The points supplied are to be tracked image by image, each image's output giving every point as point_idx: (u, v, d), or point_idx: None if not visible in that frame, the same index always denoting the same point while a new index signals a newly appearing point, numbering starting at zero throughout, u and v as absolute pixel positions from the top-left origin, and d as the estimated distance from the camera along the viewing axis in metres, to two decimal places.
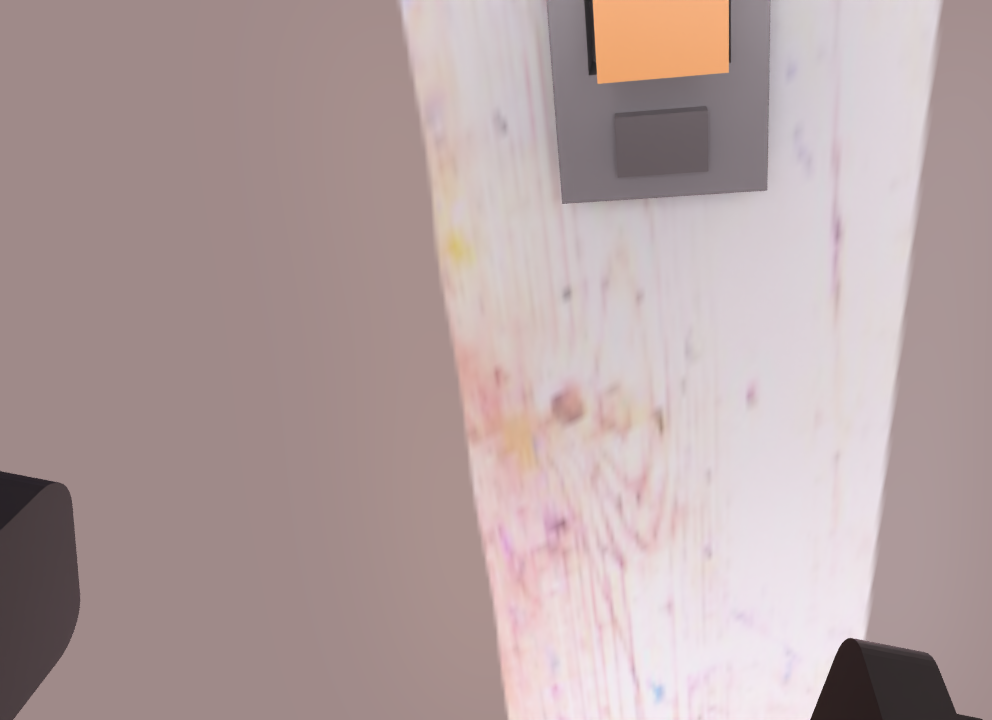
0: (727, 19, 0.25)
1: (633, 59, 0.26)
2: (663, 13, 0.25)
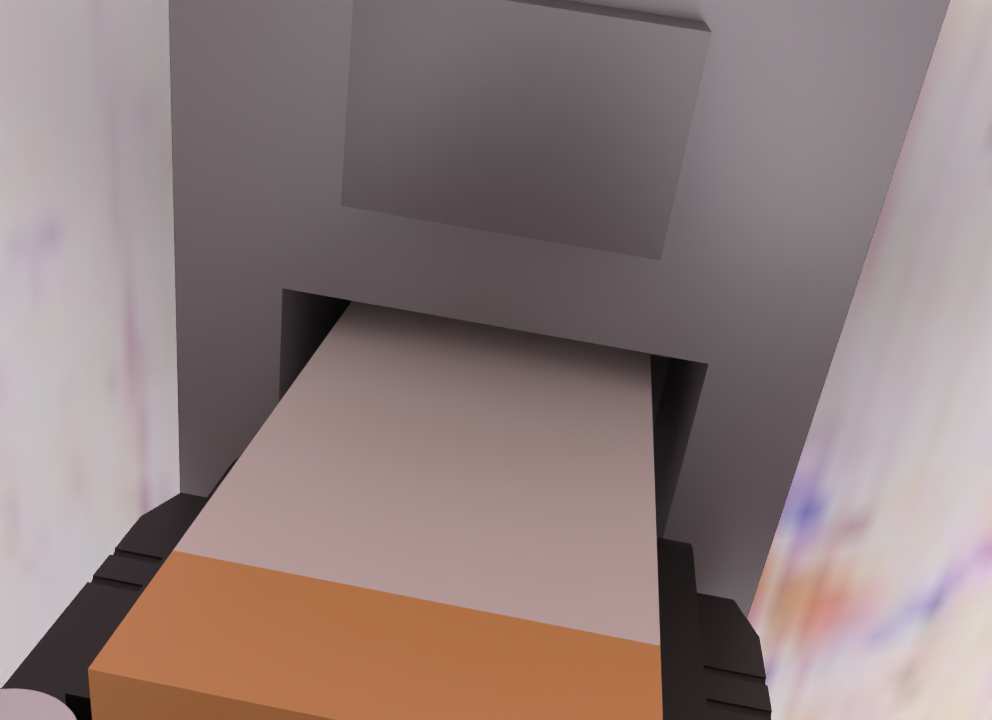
0: None
1: None
2: None
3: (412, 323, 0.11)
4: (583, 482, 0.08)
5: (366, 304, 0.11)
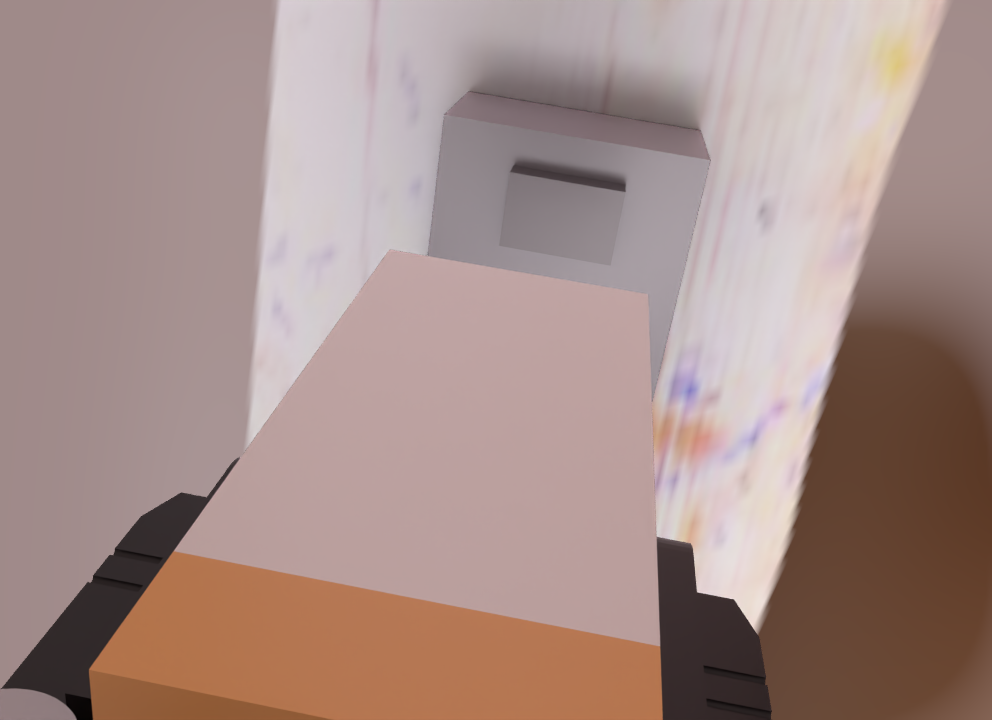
0: None
1: None
2: None
3: (411, 324, 0.11)
4: (583, 484, 0.08)
5: (366, 305, 0.11)
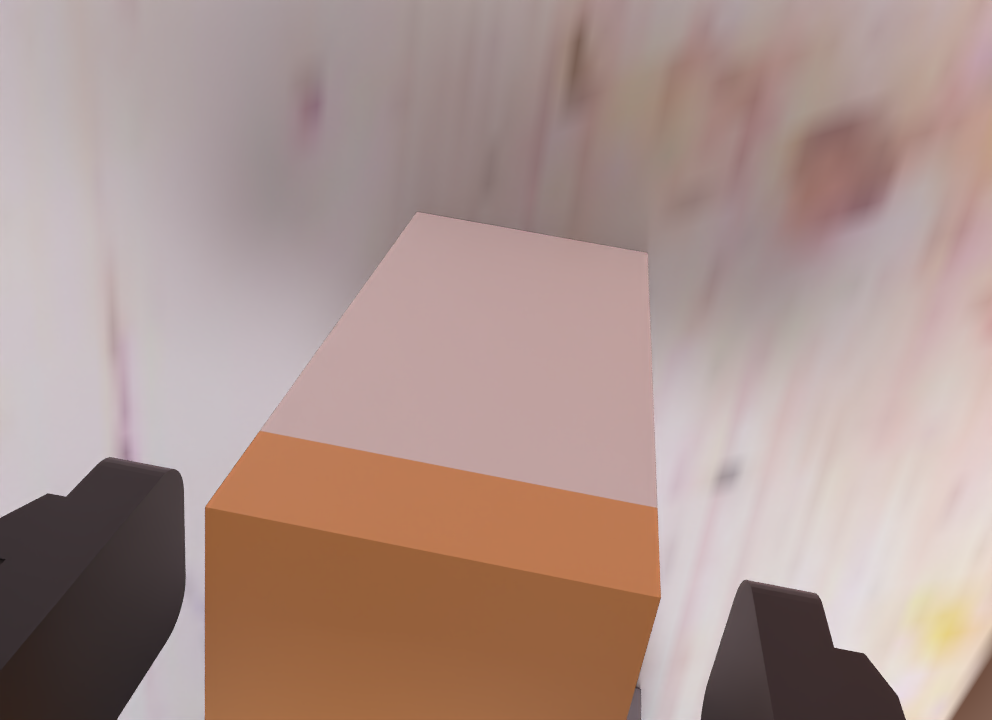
0: (207, 643, 0.08)
1: (517, 627, 0.07)
2: (399, 706, 0.08)
3: (441, 271, 0.12)
4: (592, 393, 0.10)
5: (400, 255, 0.13)
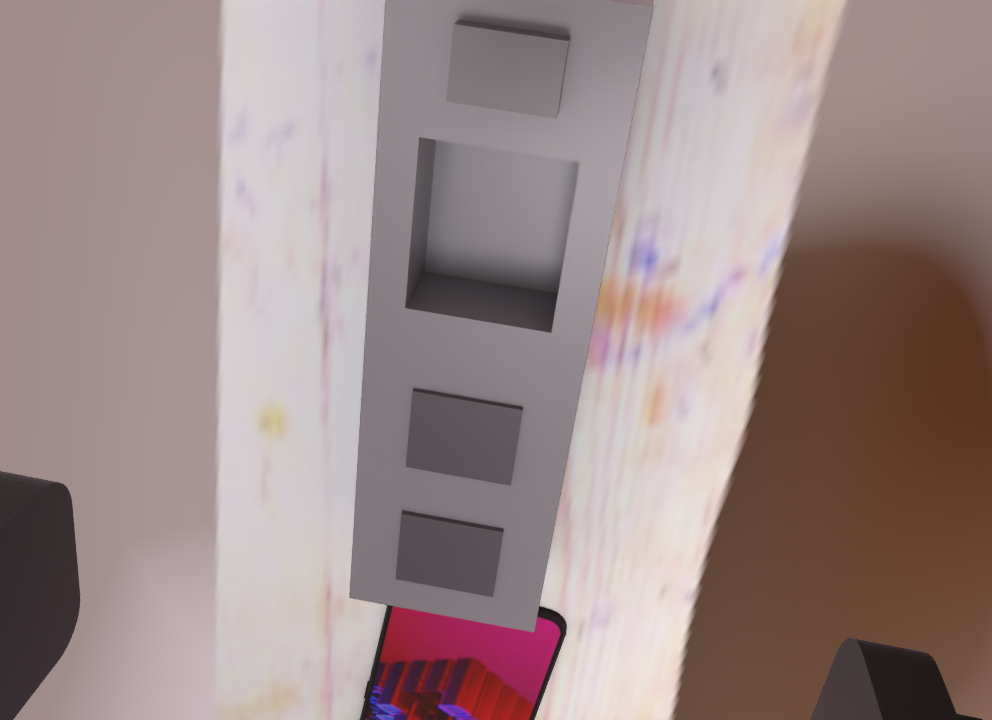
0: None
1: None
2: None
3: None
4: None
5: None
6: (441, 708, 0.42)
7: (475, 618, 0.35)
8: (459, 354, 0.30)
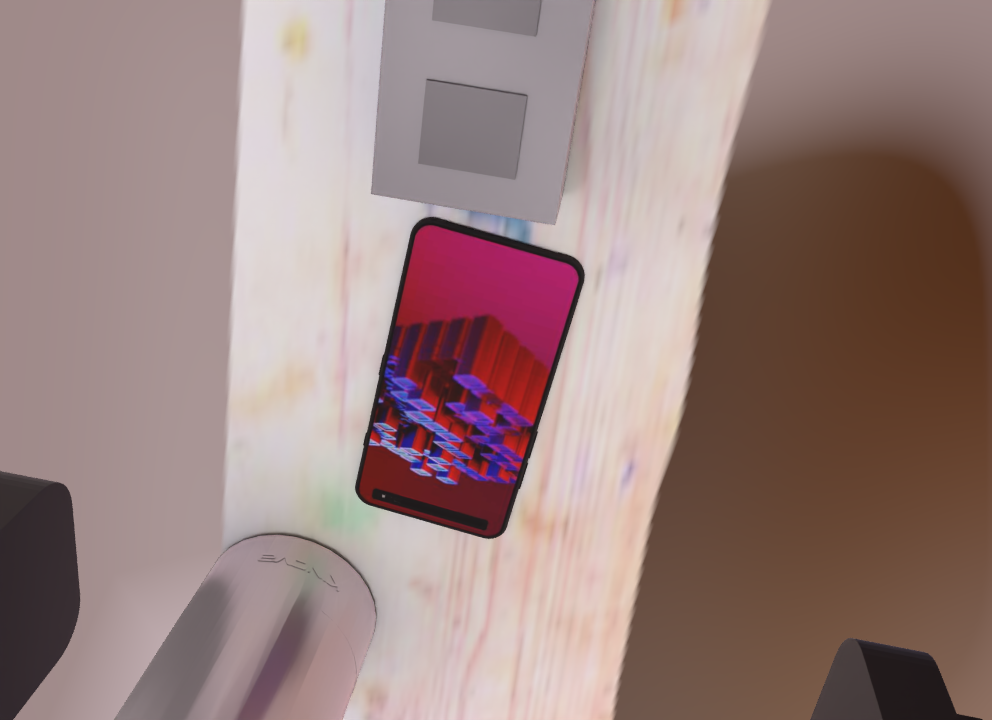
0: None
1: None
2: None
3: None
4: None
5: None
6: (456, 379, 0.42)
7: (496, 211, 0.35)
8: None
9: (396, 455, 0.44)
